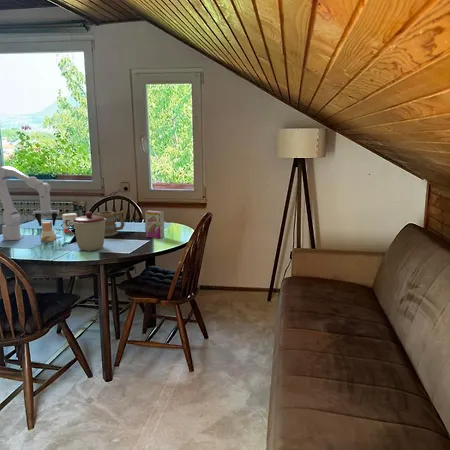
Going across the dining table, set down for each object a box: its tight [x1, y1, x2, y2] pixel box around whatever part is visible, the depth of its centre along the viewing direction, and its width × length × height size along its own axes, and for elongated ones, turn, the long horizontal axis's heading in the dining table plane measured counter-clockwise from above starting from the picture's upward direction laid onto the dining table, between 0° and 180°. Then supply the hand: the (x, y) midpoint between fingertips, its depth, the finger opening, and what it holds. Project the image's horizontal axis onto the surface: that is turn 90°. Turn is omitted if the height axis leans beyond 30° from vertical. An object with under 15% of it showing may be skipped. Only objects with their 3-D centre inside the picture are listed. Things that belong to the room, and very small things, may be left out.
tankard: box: [96, 209, 128, 237], centre depth 271 cm, size 20×13×15 cm, turn 114°
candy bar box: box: [144, 210, 165, 240], centre depth 261 cm, size 11×5×16 cm, turn 65°
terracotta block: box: [41, 221, 53, 231], centre depth 255 cm, size 4×4×5 cm
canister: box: [72, 211, 106, 252], centre depth 234 cm, size 18×18×21 cm
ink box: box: [61, 212, 78, 234], centre depth 277 cm, size 8×5×12 cm, turn 123°
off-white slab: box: [41, 228, 55, 237], centre depth 256 cm, size 6×6×3 cm
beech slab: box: [40, 233, 57, 242], centre depth 257 cm, size 7×7×3 cm
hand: (47, 225), depth 255 cm, fingers open, 7 cm apart
